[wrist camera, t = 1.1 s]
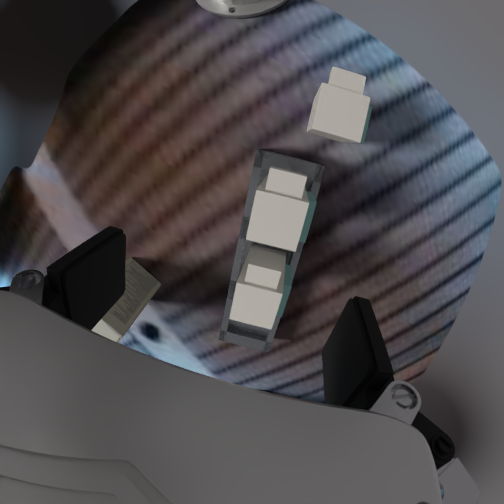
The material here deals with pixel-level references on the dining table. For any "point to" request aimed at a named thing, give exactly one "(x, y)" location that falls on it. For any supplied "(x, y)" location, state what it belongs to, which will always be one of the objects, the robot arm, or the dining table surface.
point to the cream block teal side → (281, 210)
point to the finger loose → (341, 108)
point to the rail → (264, 245)
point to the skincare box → (128, 302)
